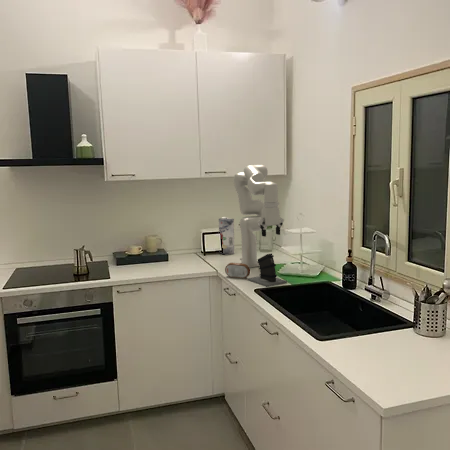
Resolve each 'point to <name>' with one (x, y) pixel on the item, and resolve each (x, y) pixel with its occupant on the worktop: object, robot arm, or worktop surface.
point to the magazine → (267, 268)
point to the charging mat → (265, 282)
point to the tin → (237, 270)
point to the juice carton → (227, 235)
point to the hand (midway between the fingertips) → (271, 235)
